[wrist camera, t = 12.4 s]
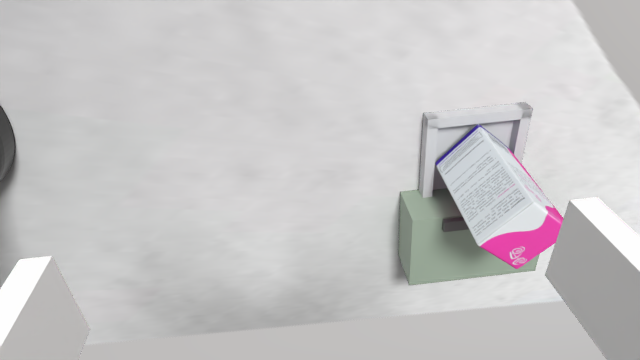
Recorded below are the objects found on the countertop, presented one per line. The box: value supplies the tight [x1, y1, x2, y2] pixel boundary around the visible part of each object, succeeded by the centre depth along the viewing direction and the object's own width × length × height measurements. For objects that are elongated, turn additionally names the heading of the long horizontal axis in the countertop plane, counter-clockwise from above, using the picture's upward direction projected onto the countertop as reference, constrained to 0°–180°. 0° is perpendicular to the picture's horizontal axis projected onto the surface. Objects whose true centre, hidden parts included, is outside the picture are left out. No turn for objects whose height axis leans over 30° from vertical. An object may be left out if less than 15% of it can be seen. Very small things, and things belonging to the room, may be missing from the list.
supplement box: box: [435, 124, 563, 269], centre depth 40 cm, size 6×6×12 cm
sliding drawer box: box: [398, 102, 539, 285], centre depth 45 cm, size 14×18×6 cm
